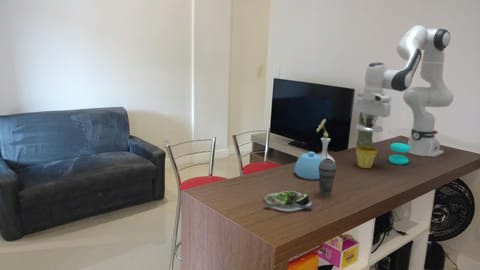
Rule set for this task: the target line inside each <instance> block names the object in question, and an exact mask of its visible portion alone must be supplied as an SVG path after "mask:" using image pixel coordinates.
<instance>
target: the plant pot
mask: <svg viewBox="0 0 480 270" xmlns="http://www.w3.org/2000/svg"><path fill="white" fill-rule="evenodd" d="M355 154H356V161H357V166H358V167H359V168H363V169H370V168H372V166H373V164H374V163H373V162H374V160H375V157H377V154H378V149H377V148H375V147H374V146H372V147H369V146H357V147H356V146H355Z"/></svg>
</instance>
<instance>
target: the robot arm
mask: <svg viewBox="0 0 480 270" xmlns="http://www.w3.org/2000/svg"><path fill="white" fill-rule="evenodd" d="M450 41H451V33H450V32H449V31H448V29H445V28H426V27H425V26H423V25H420V24H419V25H415V26H412V27H411V28H410V29H409V30H407V32H406V33H405V34H404V35H403V36H402V37H401V39H400V40H399V41H398V43H397V46H396V52H397V54H398V56H399V57H400V58H402V59H403V60H405V61H407V62H406V64H405V66H404V67H403V68H402V69H399V70H398V69H388V68H386V67H385V64H384V62H383V63H382V62H371V63H370V64H368V65H367V68H366V71H365V74H364V75H365V77H364V88H363V93H358V94H356V95H355V101H354V104H353V109H352V110H353V111H354V112H357V113H360V112H361V113H363V117H364V122H366V120H367V114H371V115H374V116H373V117H374V119H373V120H371V124H374V125H376V123H377V120H378V119H379V117H382V118H388V117H389V116H390V115H391V108H392V105H391V100H392V97H391V96H390V95H387V94H386V93H384V91H383V90H384V89H385V90H393V91H397V92H403V96H402V97H403V101H404V103H405V104H406V105H407V106H408V107H409V108H410V109H411V111H412V114H413V123H412V128H411V132H410V136H409V137H408V142H407V145H409V146H410V151H408V152H407V153H409V154H411V155H414V156H420V157H433V158H436V157H438V156H439V155H442V154H444V150H442V149H441V142H440V141H439V140H438V139H437V138H436V137H435V136H436V135H438V130H435V123H436V118H435V116H434V115H433V114H432V113H430V112H429V111H427V110H426V107H429V108H444V107H449V106H451V104H452V103H453V101H454V93H453V91H452V90H451V89H449V87H448V86H447V85H446V84H445V82H444V79H443V78H444V77H443V76H444V75H443V71H444V64H445V49H446V48H447V47H448V45H449V44H450ZM422 51H423V55H422ZM421 59H422V60H421ZM420 62H421V66H420V73H419V74H420V78H421V79H423V80H424V81H425V82H427V83H429V85H430V87H428V86H426V87H425V86H414V87H412V86H411V83H412V81H413V77H414V75H415V73H416V71H417V69H418V67H419V65H420Z"/></svg>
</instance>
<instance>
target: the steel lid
mask: <svg viewBox="0 0 480 270" xmlns="http://www.w3.org/2000/svg"><path fill="white" fill-rule="evenodd" d="M371 120H373V119H370V118H368V119H367V120H366V124H359V123H358V124H356V125H355V129H356V130H358V131H359V130H361V131H367V132H373V133H379V132H383V130H384V128H383V126H380V125H376V124H374V125H373V124H371Z"/></svg>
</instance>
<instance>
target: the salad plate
mask: <svg viewBox="0 0 480 270" xmlns="http://www.w3.org/2000/svg"><path fill="white" fill-rule="evenodd" d="M273 200H274V201H273ZM264 201H265V202H266V203H264V207H266V208H270V209H273V210H277V211H280V212H287V213H292V212H299V211H305V210H308V209H312V208H314V206H313V202H312V201H311V200H310V198H309V195H308V193H304V194H302V193H300V192H297V191H294V190H285V191H281V192H280V191H279V192H274V193H269V194H267V195H265V196H264Z"/></svg>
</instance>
